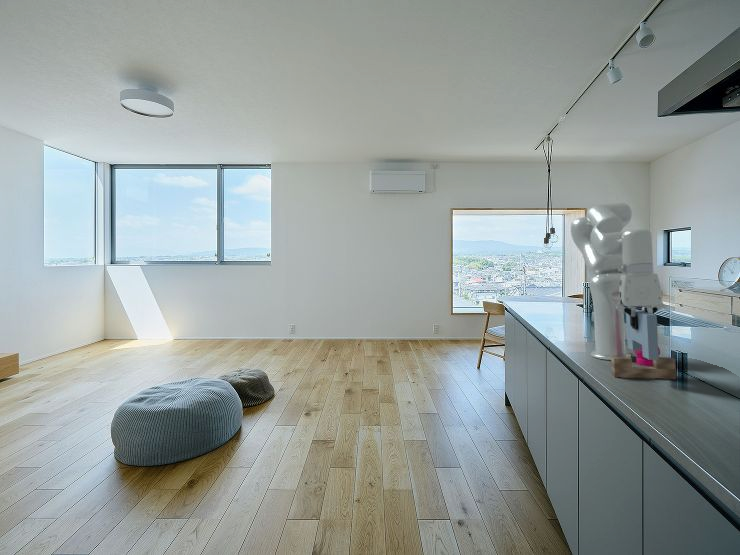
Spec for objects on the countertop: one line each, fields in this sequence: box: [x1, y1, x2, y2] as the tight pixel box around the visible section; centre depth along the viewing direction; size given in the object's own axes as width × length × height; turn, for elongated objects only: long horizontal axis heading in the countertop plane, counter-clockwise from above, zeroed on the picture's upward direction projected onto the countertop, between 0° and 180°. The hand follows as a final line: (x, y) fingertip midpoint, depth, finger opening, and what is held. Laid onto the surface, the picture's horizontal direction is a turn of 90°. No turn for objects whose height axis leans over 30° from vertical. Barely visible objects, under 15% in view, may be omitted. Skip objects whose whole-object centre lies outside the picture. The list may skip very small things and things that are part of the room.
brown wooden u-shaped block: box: [610, 356, 677, 380], centre depth 113 cm, size 16×2×6 cm, turn 73°
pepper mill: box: [633, 307, 661, 367], centre depth 126 cm, size 7×7×20 cm
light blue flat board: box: [625, 308, 660, 360], centre depth 112 cm, size 16×2×13 cm, turn 163°
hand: (640, 328), depth 112 cm, fingers closed on light blue flat board, 2 cm apart
